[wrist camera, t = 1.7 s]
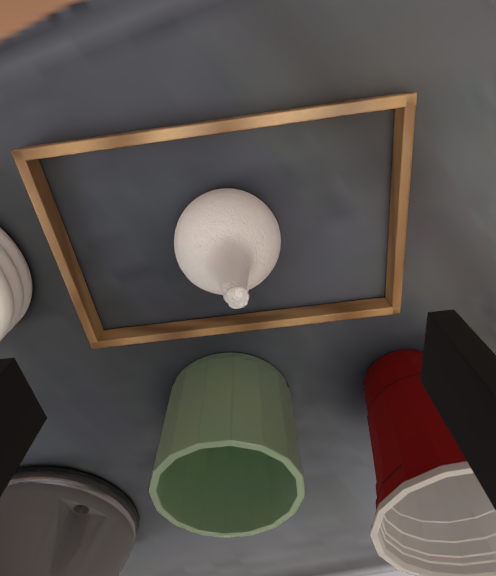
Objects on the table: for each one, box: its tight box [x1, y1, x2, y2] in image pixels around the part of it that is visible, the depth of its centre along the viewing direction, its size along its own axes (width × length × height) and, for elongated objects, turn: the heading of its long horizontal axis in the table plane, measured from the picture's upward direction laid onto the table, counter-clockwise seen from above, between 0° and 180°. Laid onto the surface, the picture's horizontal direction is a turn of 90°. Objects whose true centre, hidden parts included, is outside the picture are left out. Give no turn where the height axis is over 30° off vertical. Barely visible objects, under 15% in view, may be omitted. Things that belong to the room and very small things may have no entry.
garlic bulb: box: [174, 188, 281, 309], centre depth 20 cm, size 6×6×8 cm
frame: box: [11, 92, 417, 349], centre depth 23 cm, size 21×13×1 cm, turn 97°
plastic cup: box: [364, 350, 496, 576], centre depth 24 cm, size 11×11×12 cm
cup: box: [148, 352, 305, 538], centre depth 27 cm, size 10×10×8 cm
